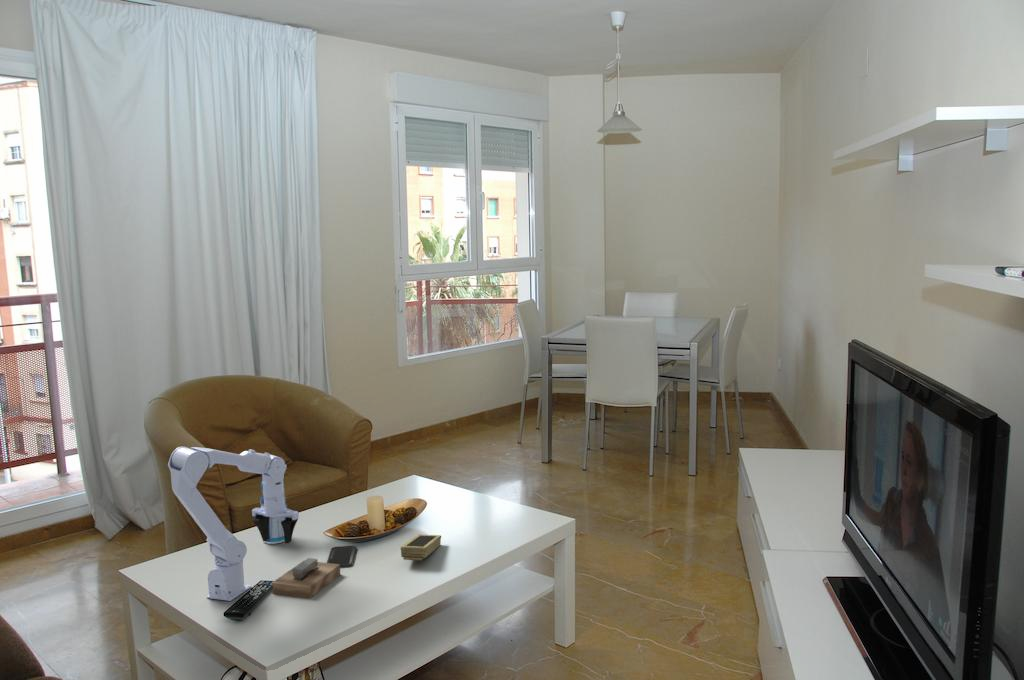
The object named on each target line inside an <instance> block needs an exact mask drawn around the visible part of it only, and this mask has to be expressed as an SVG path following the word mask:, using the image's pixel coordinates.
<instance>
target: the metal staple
mask: <svg viewBox="0 0 1024 680" xmlns="http://www.w3.org/2000/svg"><path fill="white" fill-rule="evenodd" d="M304 560H305V561H304ZM304 560H303V562H302V561H301V562H302V563H301V562H299V563H300V564H299V563H298V564H299V565H298V564H297V565H298V566H297V565H295V566H296V567H295V566H294V567H295V568H294V567H292V568H293V576H295V580H304V579H305V575H306V574H307V573H308V572H310V571H311V572H315V571H316V570H317V568H316V567H317V566H318V562H319V561H318V558H312V557H308V558H306V559H304Z"/></svg>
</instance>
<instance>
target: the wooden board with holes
mask: <svg viewBox="0 0 1024 680" xmlns="http://www.w3.org/2000/svg"><path fill="white" fill-rule="evenodd" d="M305 560H306V559H304V560H303V561H305ZM303 561H301V562H299V563H298V564H297V565H295V566H294V567H292V568H291V569H290V570H288V571H286V572H284V574H282V575H281V576H279V577H278V578H276V579H274V581H272V582H271V587H272V586H273V589H274V590H272V589H271V592H272V593H271V594H274V595H275V594H276V595H283V596H284V595H286V596H291V597H299V598H307V599H311V598H312V597H313V596H315V595H316V594H317V593H319V591H321V590H322V589H324V588H325V587H326V586H327V585H329V584H330V583H331V582H333V581H334V580H335V579H336V578H338V577H339V576H340V575H341V568H340V564H332V563H327V562H323V561H322V562H321V561H318V566H317V567H316V568H317V570H316V571H315V572H311V571H310V572H308V573H307V574H306V575H305V579H304V580H295V576H293V568H295V567H296V566H298V565H299V564H300V563H302V562H303Z"/></svg>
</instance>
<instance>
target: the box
mask: <svg viewBox="0 0 1024 680" xmlns="http://www.w3.org/2000/svg"><path fill="white" fill-rule="evenodd" d="M441 539H442V535H437V534H416V535H415V536H414V537H413V538H411V539H410V540H408V541H406V542H405V543H404V544H403V545H401V546H400V554H401V558H402V559H403V560H404V561H405V560H406V561H407V560H408V561H424V559H425V558H427V557H429V556H430V554H432V553H433V552H434V551H436V550H437V549H438V548H439V546H441Z"/></svg>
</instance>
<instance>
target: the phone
mask: <svg viewBox="0 0 1024 680" xmlns="http://www.w3.org/2000/svg"><path fill="white" fill-rule="evenodd" d="M356 552H357V545H345V546H334V547H333V546H332V547H331V549H330V551H329V554H328V558H327V560H326V563H332V564H340V569H342V568H350V567H351V568H352V567H353V564H354V560H355V556H356Z"/></svg>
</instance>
